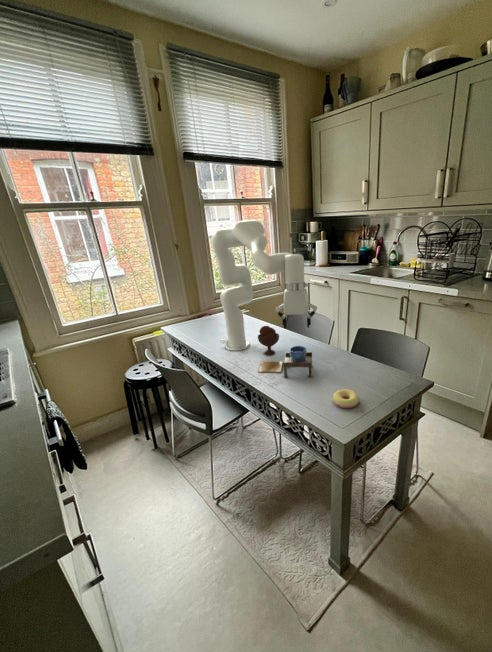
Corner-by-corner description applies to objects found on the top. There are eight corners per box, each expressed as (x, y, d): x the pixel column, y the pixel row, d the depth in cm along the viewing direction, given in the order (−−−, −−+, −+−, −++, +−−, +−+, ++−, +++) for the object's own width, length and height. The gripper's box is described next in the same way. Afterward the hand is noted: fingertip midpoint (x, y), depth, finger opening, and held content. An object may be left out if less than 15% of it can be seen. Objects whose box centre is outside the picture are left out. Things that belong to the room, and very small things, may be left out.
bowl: (289, 363, 136) (288, 352, 134) (290, 356, 143) (290, 346, 141) (306, 363, 135) (306, 352, 133) (306, 356, 142) (306, 345, 140)
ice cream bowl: (278, 358, 156) (276, 329, 149) (256, 357, 158) (253, 328, 152) (282, 349, 165) (280, 322, 159) (261, 348, 167) (259, 321, 161)
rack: (284, 377, 137) (283, 362, 134) (286, 366, 147) (285, 352, 144) (311, 377, 136) (311, 362, 133) (312, 366, 146) (312, 352, 143)
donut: (357, 401, 121) (333, 395, 123) (360, 390, 120) (336, 385, 122) (356, 412, 112) (330, 406, 114) (359, 401, 111) (332, 394, 113)
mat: (258, 372, 143) (258, 371, 142) (262, 362, 152) (262, 361, 151) (280, 372, 142) (280, 371, 141) (282, 362, 151) (282, 361, 150)
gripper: (316, 283, 129) (317, 323, 136) (275, 285, 131) (277, 324, 138) (316, 287, 122) (317, 329, 129) (272, 289, 124) (275, 330, 131)
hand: (296, 326), depth 133 cm, fingers open, 9 cm apart
